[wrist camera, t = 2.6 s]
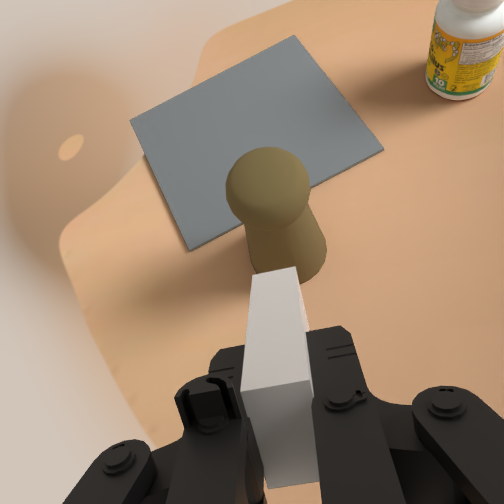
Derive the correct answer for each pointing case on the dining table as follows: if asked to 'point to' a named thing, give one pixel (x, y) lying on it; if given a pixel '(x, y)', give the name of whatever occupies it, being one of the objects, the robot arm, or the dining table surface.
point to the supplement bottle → (465, 47)
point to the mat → (248, 133)
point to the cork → (276, 212)
